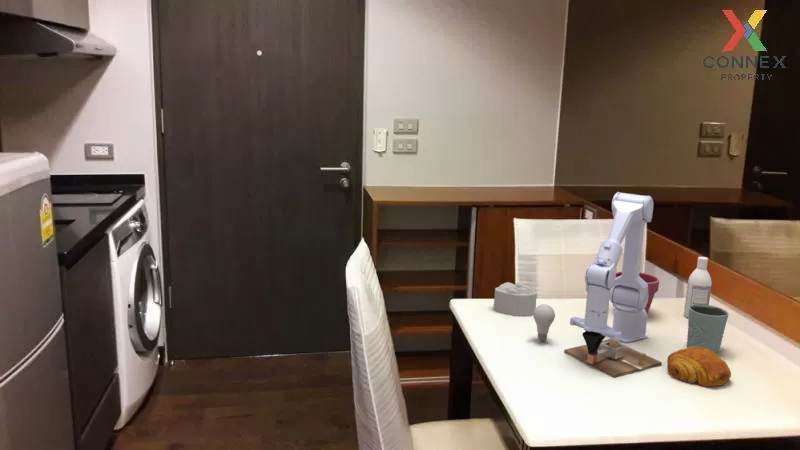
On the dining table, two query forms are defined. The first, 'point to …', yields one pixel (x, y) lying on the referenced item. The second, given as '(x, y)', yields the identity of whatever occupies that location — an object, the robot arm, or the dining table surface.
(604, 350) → the square frame with handle
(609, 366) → the socket base
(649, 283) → the plant pot
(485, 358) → the dining table surface
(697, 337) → the embossed teal cup
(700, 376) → the croissant
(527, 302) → the lumpy-topped squat cylinder
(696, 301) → the bath foam
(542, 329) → the lightbulb
